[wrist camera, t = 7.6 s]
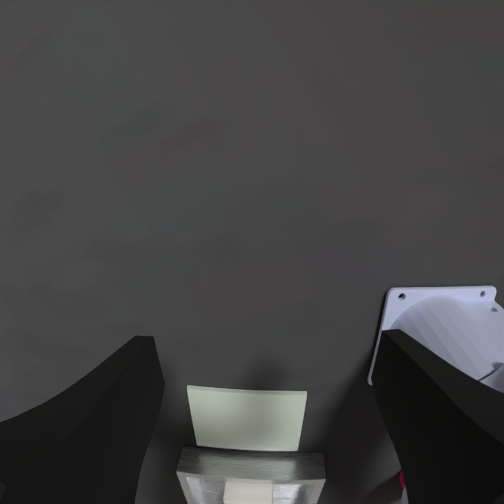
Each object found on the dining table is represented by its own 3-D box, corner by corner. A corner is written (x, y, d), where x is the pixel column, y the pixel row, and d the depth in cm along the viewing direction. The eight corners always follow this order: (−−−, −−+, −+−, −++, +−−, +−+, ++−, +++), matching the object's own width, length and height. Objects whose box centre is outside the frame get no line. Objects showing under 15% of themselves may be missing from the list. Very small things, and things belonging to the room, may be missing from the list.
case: (323, 452, 25) (327, 495, 20) (304, 509, 29) (305, 541, 24) (183, 445, 25) (171, 486, 21) (200, 504, 30) (193, 535, 25)
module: (273, 463, 25) (272, 501, 21) (273, 488, 27) (272, 521, 23) (228, 462, 25) (222, 499, 21) (234, 487, 27) (229, 520, 23)
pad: (306, 391, 22) (307, 394, 22) (297, 447, 24) (297, 450, 24) (187, 385, 23) (186, 388, 22) (197, 442, 25) (197, 445, 25)
